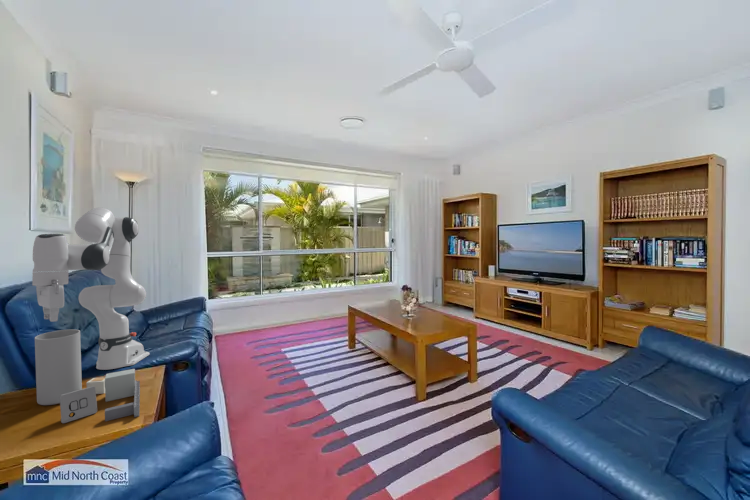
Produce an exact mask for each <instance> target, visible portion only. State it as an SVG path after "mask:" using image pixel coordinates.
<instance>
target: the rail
mask: <svg viewBox="0 0 750 500" xmlns="http://www.w3.org/2000/svg"><path fill="white" fill-rule="evenodd" d="M140 383H141V382H140V380H138V379H135V393H134V398H133V402H134V414H133V418H137V417H140V404H141V402H140V401H141V399H140V398H141V397H140V395H141V387H140V386H141V384H140Z"/></svg>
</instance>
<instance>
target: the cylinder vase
mask: <svg viewBox="0 0 750 500" xmlns="http://www.w3.org/2000/svg"><path fill="white" fill-rule="evenodd" d="M81 343H82V341H81V330H79V329H61V330H60V329H59V330H53V331H48V332H45V333H40V334H38V335H36V336H35V337H34V356H35V357H34V360H35V383H36V386H35V387H36V402H37V405H40V406H52V405H57V404H58V405H60V401H59V397H60V396H61V395H63V394H67V393H70V392H74V391H77V390H81V389H83V384H82V382H83V381H82V378H83V377H82V352H81V351H82V350H81V349H82V347H81V345H82V344H81Z"/></svg>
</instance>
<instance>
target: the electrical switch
mask: <svg viewBox="0 0 750 500" xmlns="http://www.w3.org/2000/svg"><path fill="white" fill-rule="evenodd" d="M59 401H60V403H59V407H60V422H61V423H62V424H66V423H69V422H72V421H75V420H79V419H82V418H85V417H87V416H91V415H94V414H96V413H97V412H98V401H97V394H96V391H95V387H94V386H92V387H88V388H87V387H86V388H82V389H81V390H77V391H74V392H70V393H67V394H63V395H61V396H60V397H59ZM71 414H72V415H71Z"/></svg>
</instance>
